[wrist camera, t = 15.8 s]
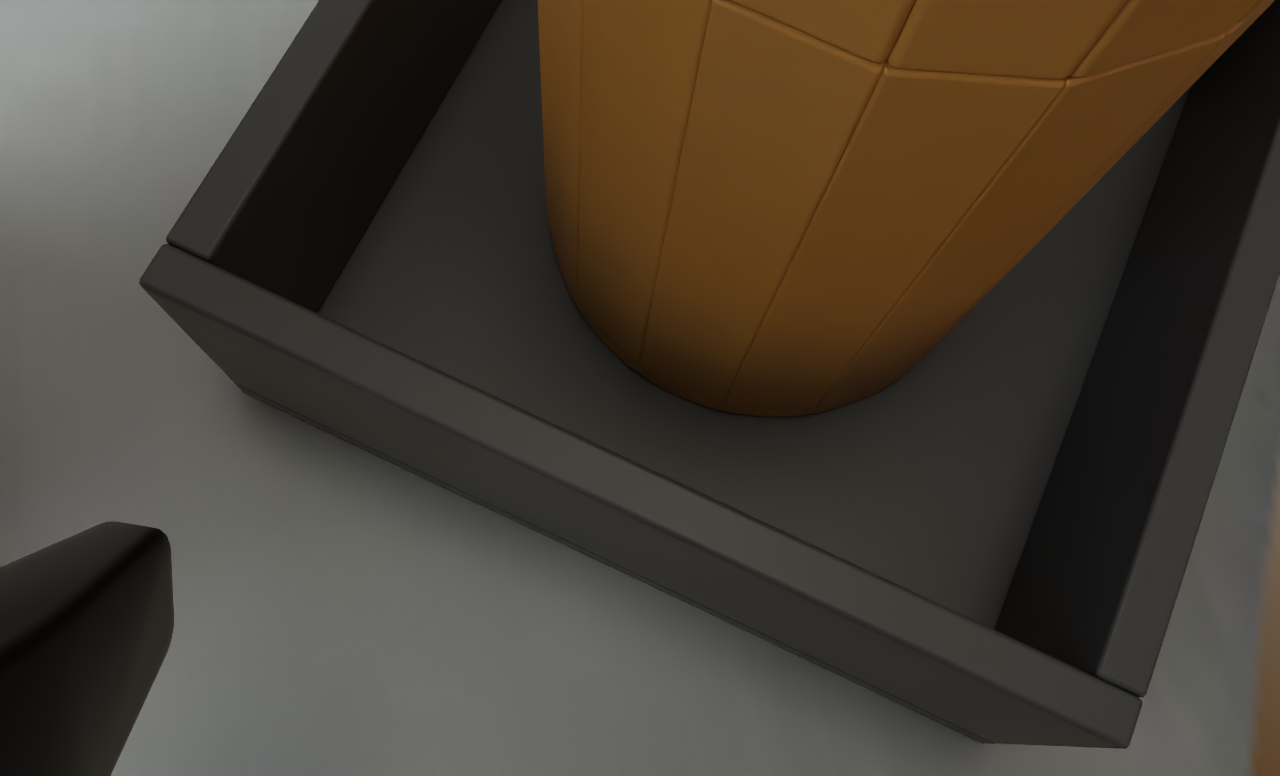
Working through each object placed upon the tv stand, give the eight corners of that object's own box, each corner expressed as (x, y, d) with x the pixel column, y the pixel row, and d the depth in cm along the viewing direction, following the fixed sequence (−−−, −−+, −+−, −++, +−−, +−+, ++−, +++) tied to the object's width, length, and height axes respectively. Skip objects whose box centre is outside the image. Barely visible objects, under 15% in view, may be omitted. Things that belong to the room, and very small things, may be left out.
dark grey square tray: (985, 745, 17) (1130, 751, 12) (240, 391, 18) (134, 282, 13) (1220, 79, 20) (1398, -97, 16) (588, -191, 21) (594, -429, 17)
